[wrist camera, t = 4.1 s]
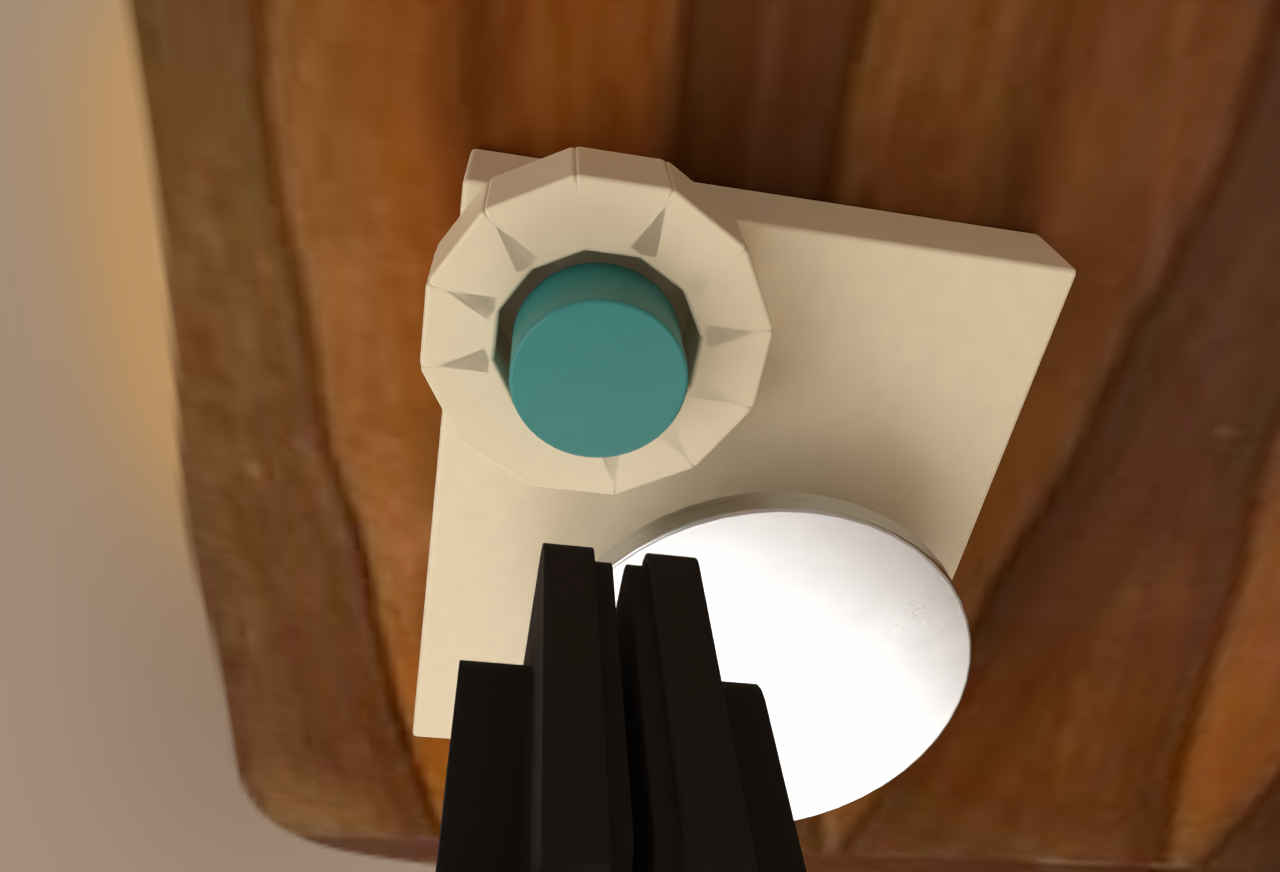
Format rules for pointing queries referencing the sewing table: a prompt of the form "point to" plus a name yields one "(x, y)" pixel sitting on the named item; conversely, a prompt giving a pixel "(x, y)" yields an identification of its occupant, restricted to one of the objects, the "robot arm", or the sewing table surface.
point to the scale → (714, 373)
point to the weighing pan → (824, 631)
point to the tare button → (597, 361)
